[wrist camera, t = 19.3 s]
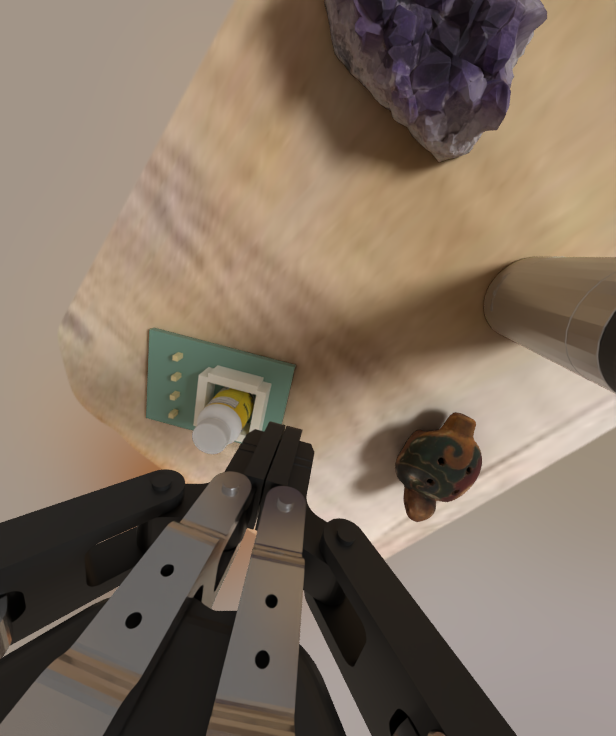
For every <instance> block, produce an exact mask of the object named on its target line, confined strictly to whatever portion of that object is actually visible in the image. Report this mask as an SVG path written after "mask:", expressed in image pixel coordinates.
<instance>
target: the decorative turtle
mask: <svg viewBox="0 0 616 736" xmlns="http://www.w3.org/2000/svg"><path fill="white" fill-rule="evenodd" d="M475 426H476V422H475V420H473V419H471V418H470V417H468V416H466V415H464V414H461V413H456V412H455V413H453V414H451V415H450V416H449V417H448V419H447V420H446V422H445V423H444V425H443V426H442V427H441V428H440V429H439V430H435V431H427V432H425V431H422V430H417V431H415V432H414V433H413V434H412V435H411V436H410V437H409V439H408V440H407V442H406V444H405V446H404V447H403V449H402V451H401V452H400V454H399V455H398V457H397V459H396V463H395V469H396V474H397V477H398V478H399V480H400V481H401V482H402V483H403V484H404V505H405V509H406V513H407V515H408V517H409V518H410V519H411V520H413V521H416V522H420V521H423V520H426V519H428V518H430V517H431V516H432V515H433V514H434V512H435V509H436V501H442V502H449V501H452V500H455V499H457V498H459V497H460V496H462V495H463V494H464V493H465V492H466V491H467V490H468V489H470V487H471V486H472V485H473V484H474V482H475V481H476V479H477V477H478V475H479V473H480V470H481V466H482V456H481V452H480V449H479V446H478V445H477V443H476V442H475V441H474V438H473V435H474V430H475Z"/></svg>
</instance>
